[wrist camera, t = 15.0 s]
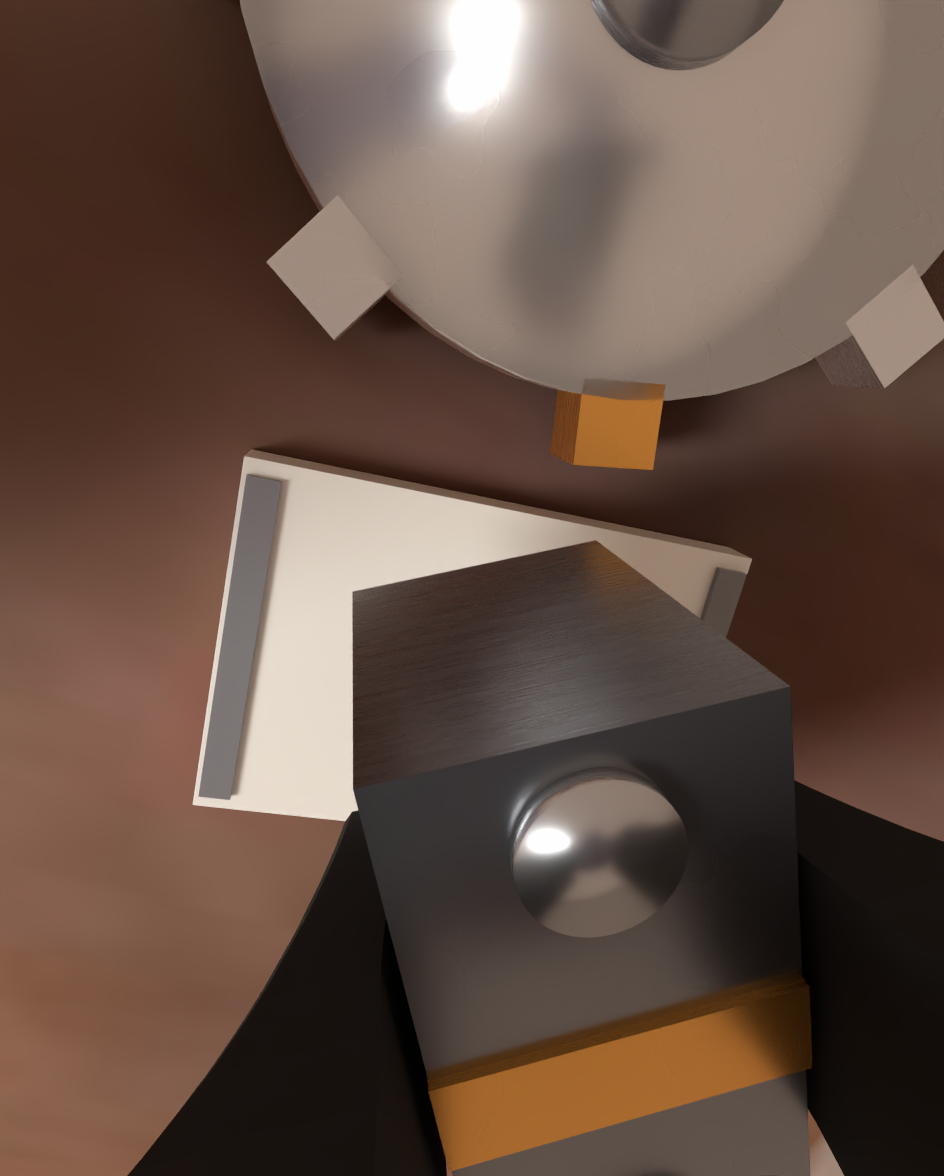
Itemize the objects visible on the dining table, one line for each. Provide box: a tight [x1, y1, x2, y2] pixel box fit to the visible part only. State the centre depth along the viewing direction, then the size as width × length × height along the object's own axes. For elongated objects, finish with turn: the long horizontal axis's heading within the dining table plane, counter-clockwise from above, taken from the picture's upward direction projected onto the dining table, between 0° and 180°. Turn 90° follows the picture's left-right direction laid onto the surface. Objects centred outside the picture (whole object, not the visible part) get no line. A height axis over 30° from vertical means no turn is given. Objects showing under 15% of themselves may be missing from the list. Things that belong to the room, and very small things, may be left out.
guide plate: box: [193, 449, 752, 821], centre depth 15 cm, size 10×7×1 cm
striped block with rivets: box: [352, 540, 813, 1176], centre depth 9 cm, size 7×4×5 cm, turn 10°
